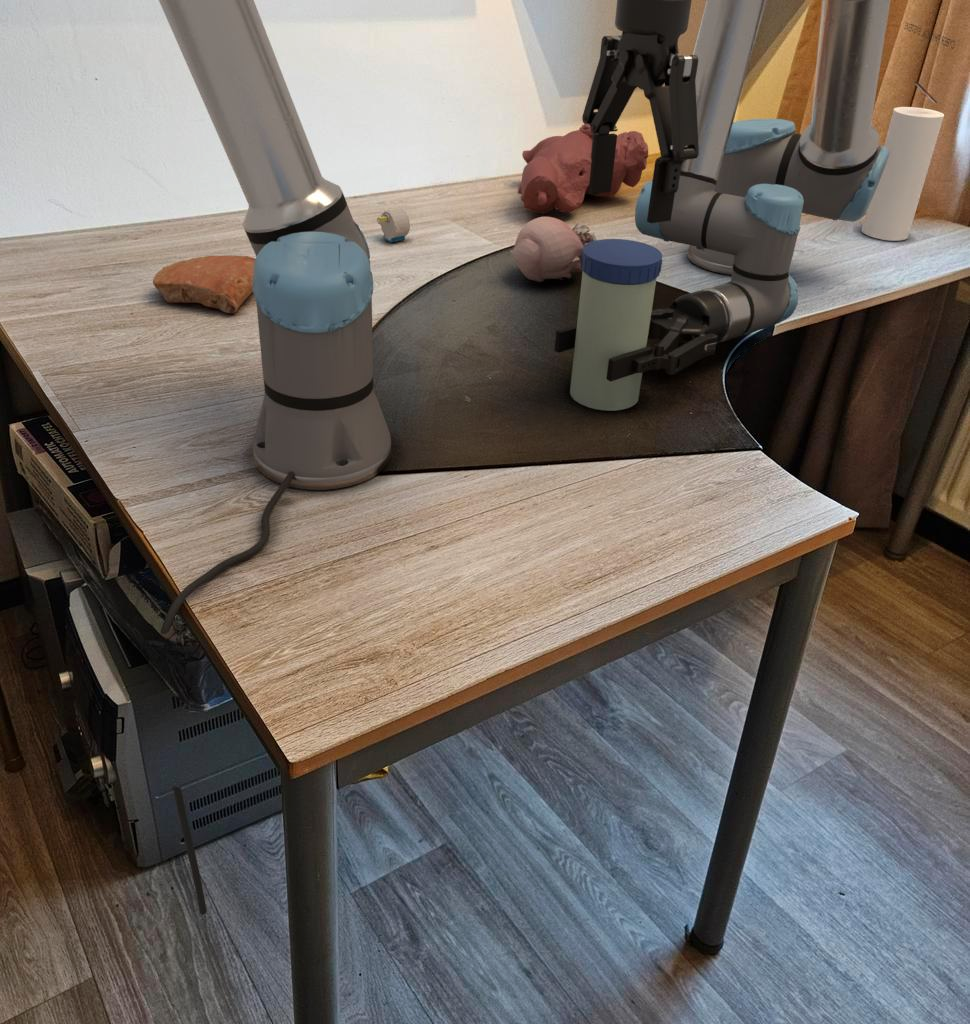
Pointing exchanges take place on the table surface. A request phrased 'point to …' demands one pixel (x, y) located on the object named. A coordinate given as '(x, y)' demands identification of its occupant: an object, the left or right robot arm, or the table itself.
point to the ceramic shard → (208, 281)
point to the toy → (550, 248)
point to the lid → (621, 261)
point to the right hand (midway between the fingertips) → (582, 355)
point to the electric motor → (394, 225)
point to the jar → (609, 340)
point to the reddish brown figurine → (575, 169)
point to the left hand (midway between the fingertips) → (628, 206)
